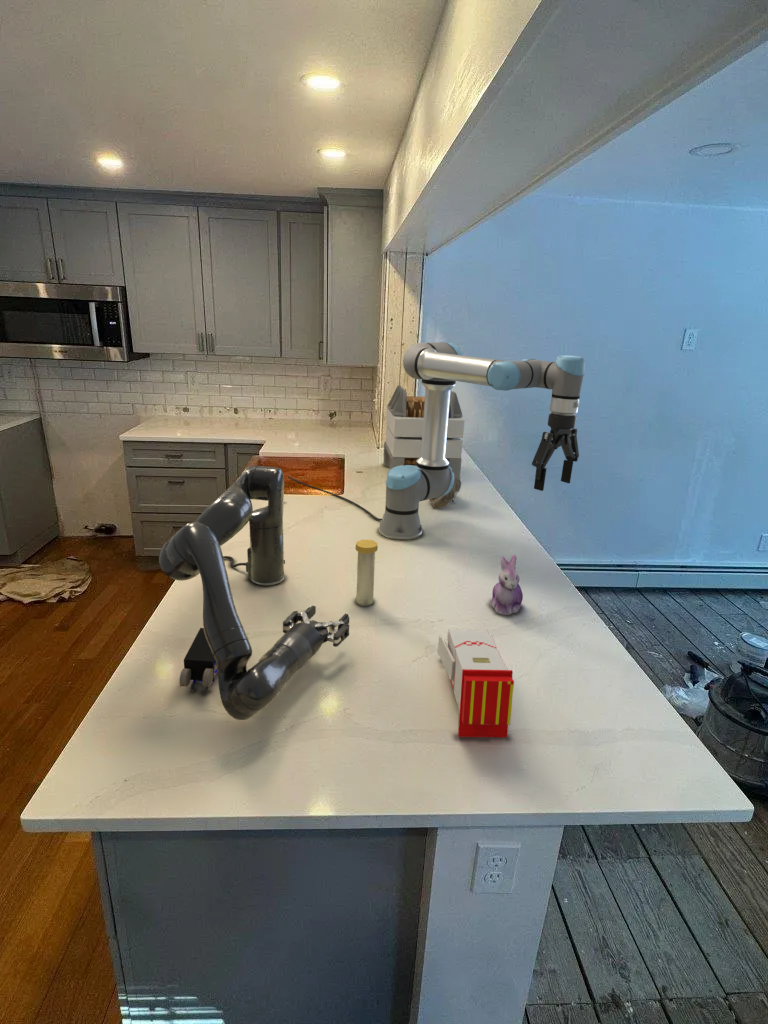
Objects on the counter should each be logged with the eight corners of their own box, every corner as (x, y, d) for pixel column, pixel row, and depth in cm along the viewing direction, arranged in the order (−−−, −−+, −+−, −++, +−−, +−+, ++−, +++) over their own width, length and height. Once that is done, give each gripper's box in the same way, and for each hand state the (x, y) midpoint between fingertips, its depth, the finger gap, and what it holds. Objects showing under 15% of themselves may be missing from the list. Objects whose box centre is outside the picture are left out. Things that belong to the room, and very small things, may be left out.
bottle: (354, 604, 151) (356, 547, 146) (358, 596, 155) (359, 540, 150) (371, 606, 151) (373, 549, 145) (374, 598, 155) (376, 542, 149)
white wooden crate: (382, 463, 289) (386, 382, 275) (445, 464, 293) (451, 384, 279) (390, 482, 257) (394, 392, 243) (460, 483, 261) (468, 394, 247)
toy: (488, 613, 130) (523, 677, 101) (484, 667, 133) (517, 744, 104) (435, 612, 130) (455, 676, 101) (432, 666, 133) (451, 743, 103)
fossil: (425, 482, 245) (454, 464, 240) (438, 499, 248) (467, 481, 243) (424, 504, 225) (455, 484, 220) (438, 522, 228) (469, 503, 223)
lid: (353, 552, 146) (353, 546, 145) (358, 544, 151) (358, 538, 150) (375, 554, 145) (375, 548, 144) (379, 546, 150) (379, 540, 149)
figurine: (504, 619, 147) (511, 567, 142) (480, 601, 155) (486, 551, 150) (532, 612, 151) (540, 561, 146) (508, 595, 159) (514, 546, 154)
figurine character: (214, 702, 114) (231, 653, 127) (210, 673, 110) (228, 625, 124) (180, 702, 114) (200, 652, 127) (175, 673, 110) (197, 625, 124)
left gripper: (266, 655, 122) (304, 620, 136) (325, 672, 117) (358, 634, 131) (265, 624, 119) (303, 592, 134) (326, 641, 115) (358, 605, 129)
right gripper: (548, 419, 148) (537, 496, 155) (598, 411, 163) (586, 482, 171) (525, 414, 153) (515, 489, 160) (575, 407, 169) (564, 476, 176)
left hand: (330, 613), depth 133 cm, fingers open, 8 cm apart
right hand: (552, 485), depth 166 cm, fingers open, 13 cm apart
